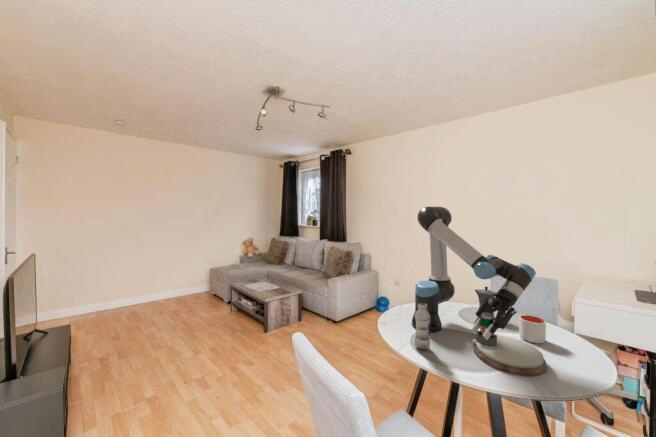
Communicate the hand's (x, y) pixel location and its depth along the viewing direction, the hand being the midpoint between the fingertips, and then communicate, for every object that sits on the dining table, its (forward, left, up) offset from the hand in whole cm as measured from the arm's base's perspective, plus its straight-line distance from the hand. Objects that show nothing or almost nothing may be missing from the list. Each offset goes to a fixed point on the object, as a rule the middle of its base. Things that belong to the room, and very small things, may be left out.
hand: (478, 334), depth 113 cm
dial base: (+10, +4, -9) cm, 14 cm away
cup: (+20, +30, -9) cm, 37 cm away
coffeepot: (+1, +49, -9) cm, 50 cm away
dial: (+10, +4, -6) cm, 12 cm away
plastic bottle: (-22, -8, -9) cm, 25 cm away
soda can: (+3, +4, -4) cm, 6 cm away
